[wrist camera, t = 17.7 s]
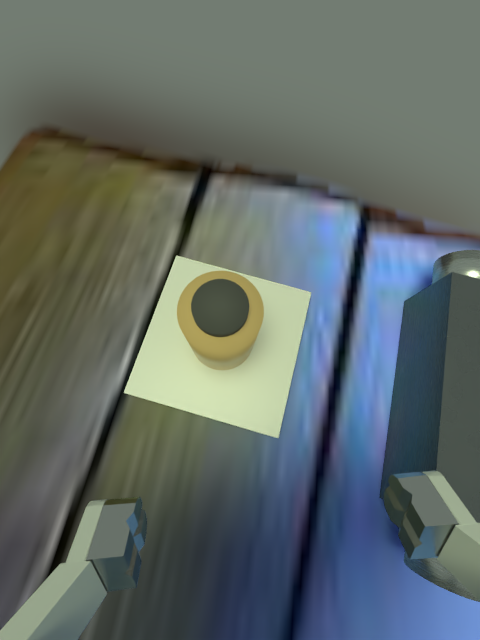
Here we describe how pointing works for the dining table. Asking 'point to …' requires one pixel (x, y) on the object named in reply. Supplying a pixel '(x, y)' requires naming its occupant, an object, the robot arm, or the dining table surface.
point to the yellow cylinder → (220, 318)
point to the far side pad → (222, 385)
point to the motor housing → (440, 393)
